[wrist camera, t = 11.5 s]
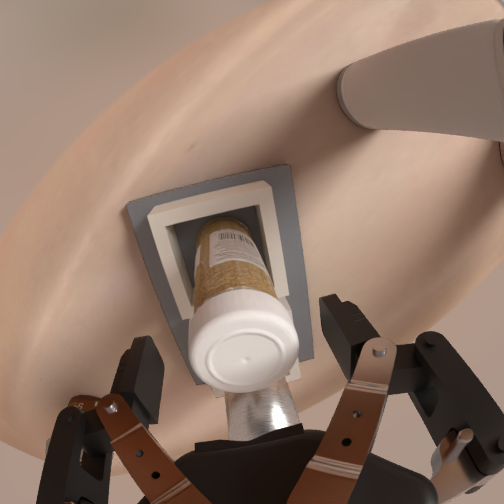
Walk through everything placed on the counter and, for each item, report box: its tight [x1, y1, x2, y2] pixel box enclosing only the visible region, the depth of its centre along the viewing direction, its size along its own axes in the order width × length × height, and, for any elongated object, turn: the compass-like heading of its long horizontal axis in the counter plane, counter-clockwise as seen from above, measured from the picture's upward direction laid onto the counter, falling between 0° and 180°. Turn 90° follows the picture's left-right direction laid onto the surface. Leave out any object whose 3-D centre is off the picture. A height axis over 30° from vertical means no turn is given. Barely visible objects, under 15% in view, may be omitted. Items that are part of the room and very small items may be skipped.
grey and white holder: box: [126, 164, 314, 398], centre depth 24 cm, size 13×20×4 cm, turn 12°
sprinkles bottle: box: [188, 217, 299, 393], centre depth 17 cm, size 5×5×13 cm
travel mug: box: [336, 19, 504, 142], centre depth 12 cm, size 6×7×20 cm
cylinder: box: [224, 376, 300, 441], centre depth 21 cm, size 5×5×13 cm
